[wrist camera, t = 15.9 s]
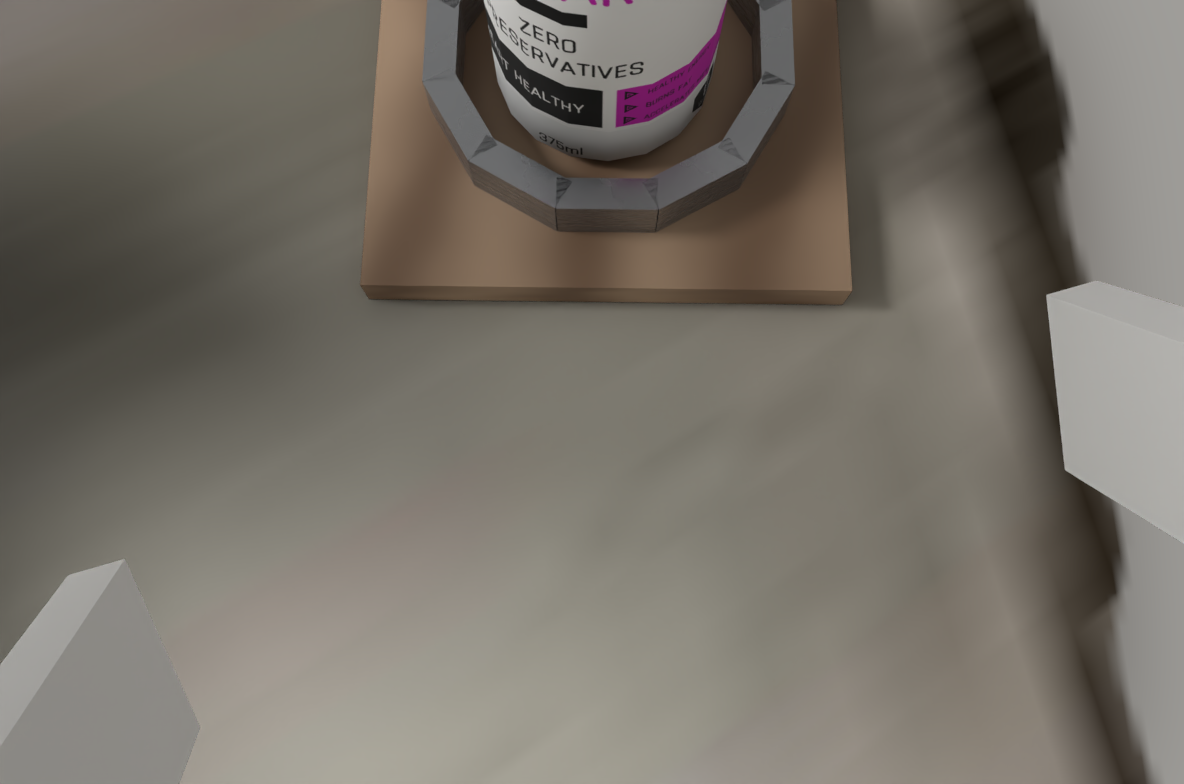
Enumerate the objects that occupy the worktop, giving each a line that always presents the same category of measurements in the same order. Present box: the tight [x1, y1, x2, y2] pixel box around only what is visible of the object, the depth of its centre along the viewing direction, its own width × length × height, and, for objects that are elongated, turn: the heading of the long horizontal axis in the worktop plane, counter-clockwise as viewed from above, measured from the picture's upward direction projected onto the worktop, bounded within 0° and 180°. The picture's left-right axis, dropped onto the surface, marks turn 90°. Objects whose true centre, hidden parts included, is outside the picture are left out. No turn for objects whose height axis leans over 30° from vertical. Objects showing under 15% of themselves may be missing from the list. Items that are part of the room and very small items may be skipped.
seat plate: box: [360, 0, 852, 305], centre depth 40 cm, size 18×18×2 cm
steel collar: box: [422, 0, 795, 233], centre depth 38 cm, size 14×14×3 cm
